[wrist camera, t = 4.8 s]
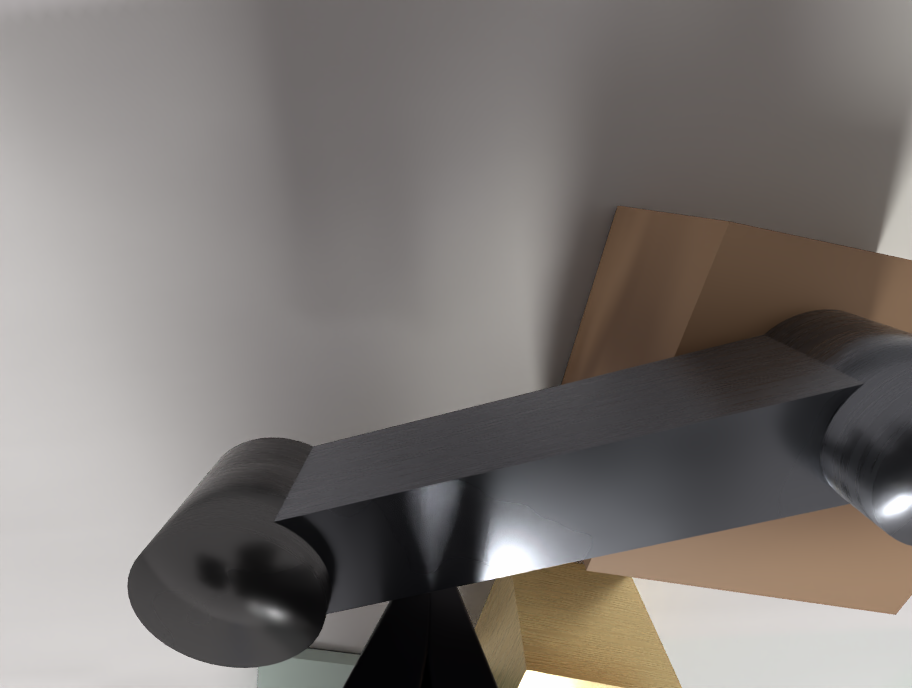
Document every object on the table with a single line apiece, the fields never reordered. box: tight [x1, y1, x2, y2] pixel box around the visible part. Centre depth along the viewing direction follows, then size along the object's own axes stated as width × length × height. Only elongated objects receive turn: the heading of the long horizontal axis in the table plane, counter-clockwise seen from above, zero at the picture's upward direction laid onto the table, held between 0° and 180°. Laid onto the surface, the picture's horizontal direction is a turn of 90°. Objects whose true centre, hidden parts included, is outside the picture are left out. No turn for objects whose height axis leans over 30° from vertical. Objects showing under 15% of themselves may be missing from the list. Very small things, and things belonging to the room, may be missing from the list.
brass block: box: [475, 562, 682, 688], centre depth 14 cm, size 6×4×4 cm
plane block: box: [561, 206, 912, 615], centre depth 10 cm, size 7×7×4 cm
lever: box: [128, 309, 912, 668], centre depth 6 cm, size 11×3×2 cm, turn 106°
